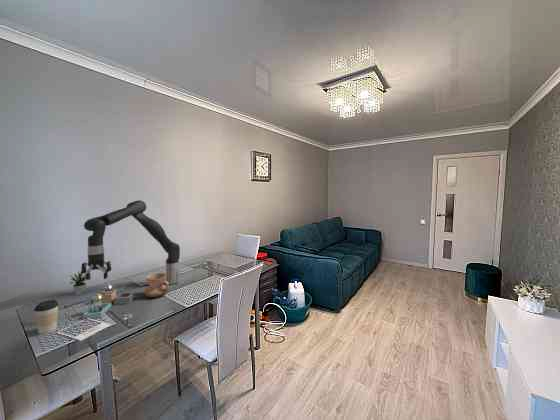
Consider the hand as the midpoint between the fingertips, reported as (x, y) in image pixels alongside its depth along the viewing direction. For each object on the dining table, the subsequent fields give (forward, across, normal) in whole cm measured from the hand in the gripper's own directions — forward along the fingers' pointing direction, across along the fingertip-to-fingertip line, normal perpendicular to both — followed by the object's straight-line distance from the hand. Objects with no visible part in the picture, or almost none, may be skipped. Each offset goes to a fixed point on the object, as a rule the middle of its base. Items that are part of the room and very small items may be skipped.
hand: (97, 279), depth 137 cm
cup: (+21, +1, -15) cm, 26 cm away
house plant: (+21, +26, -32) cm, 46 cm away
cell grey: (+20, +1, -15) cm, 25 cm away
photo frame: (+21, -2, +18) cm, 28 cm away
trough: (+21, 0, 0) cm, 21 cm away
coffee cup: (+21, +16, +15) cm, 30 cm away
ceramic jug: (+21, -28, -19) cm, 40 cm away
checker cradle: (+21, -10, -14) cm, 27 cm away
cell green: (+20, 0, 0) cm, 20 cm away
